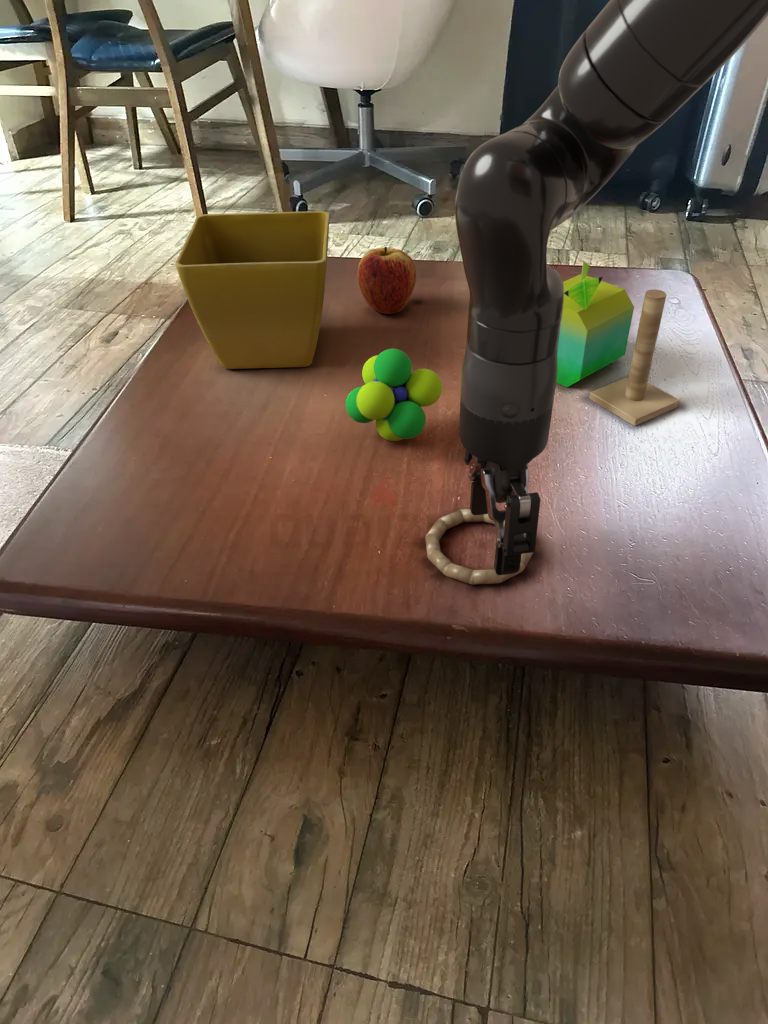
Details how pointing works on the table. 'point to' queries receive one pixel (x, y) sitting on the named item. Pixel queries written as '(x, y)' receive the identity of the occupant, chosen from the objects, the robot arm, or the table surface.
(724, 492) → the table surface
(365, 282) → the apple
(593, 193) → the robot arm
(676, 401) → the post
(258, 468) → the table surface
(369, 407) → the molecule model
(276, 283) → the flower pot
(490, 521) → the ring
